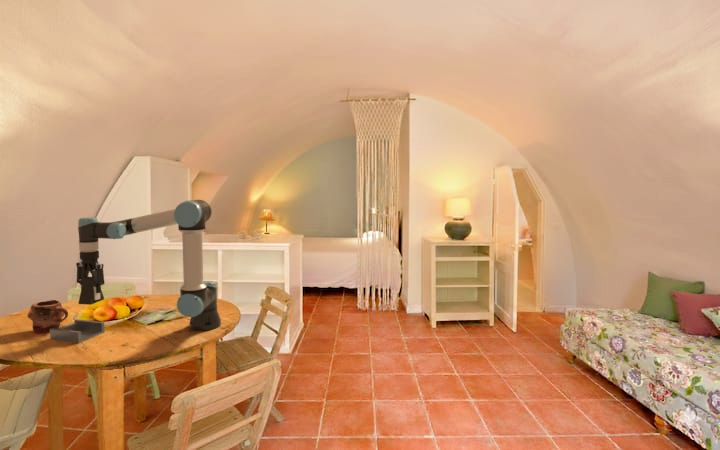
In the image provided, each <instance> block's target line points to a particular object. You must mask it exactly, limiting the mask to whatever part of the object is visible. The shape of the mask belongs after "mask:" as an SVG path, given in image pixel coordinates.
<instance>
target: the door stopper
mask: <svg viewBox="0 0 720 450" xmlns="http://www.w3.org/2000/svg"><path fill="white" fill-rule="evenodd" d="M97 284H98V283H97ZM94 286H95V284H94V281H93V277H92V276H88V277H83V279H82V288H81V287H80V292H79V293H80V295H79V299H78V305H88V306H89V305H90V306H91V305H94V304H96V303H98V302H101V301H104V300H105V297H104V295H103V292H102V290H101V292H100V299H98V300H94Z"/></svg>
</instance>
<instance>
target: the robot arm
mask: <svg viewBox="0 0 720 450" xmlns="http://www.w3.org/2000/svg"><path fill="white" fill-rule="evenodd" d="M211 217H212V207H211V205H210V204H209V203H208V202H207V201H205V200H203V199H195V200H193V199H192V200H185V201H182V202H180V203H179V204H178V205H177V206H176V207H175V208H174V209H170V210H169V209H168V210H165V211H161V212H160V211H159V212H155V213H152V214H146V215H141V216H136V217H132V218H128V219H127V218H125V219H123V220H117V221H111V222H109V221H108V222H101V221H98V218H97V217H93V216H92V217H91V216H90V217H81V218H79V219H78V220H77V221H78V226H77V230H78V231H77V232H78V239H79V240H78V248H79V249H78V251H79V260H81V261H79V262H76V264H75V265H76V283H77V284H79V285H80V289H81V288H82V279H83V277H89V273H90V274H91V277H93V281H94V284H95V286H94V300H98V299H100V292H101V291H102V286H103V285H105V275H104V265H105V264H103V263H99V260H98V259H99V258H100V251H99V239H107V240H109V239H110V240H112V239H113V240H117V239H118V240H119V239H120V240H121V239H123V238H124V237H125V236H129V235H134V234H138V233H142V232H147V231H151V230H156V229H161V228H165V227H166V228H167V227H169V226H170V227H171V226H175V225H178V226H177V227H178V231H179V232H180V233H181V234H182V237H181V238H182V274H183V276H182V277H183V284H182V285H181V286H180V287H179V288H180V289H179V294H180V295H179V297H178V298H177V301H176V308H177V310H178V312H179V313H180V314H181V315H182V316H184V317H187V318H190V320H189V326H188V327H189V329H191V330H193V331H201V332H203V331H209V330H213V329H217V328H219V327H220V326H221V324H222V318H221V316H220V314H219V312H218V311H219V310H218V292H217V291H218V290H217V289H218V286H217V283H216V282H215V281H213V280H204V260H203V258H204V256H203V232H205V231H206V222H208V221H209V220H210V218H211ZM97 283H98V284H97Z"/></svg>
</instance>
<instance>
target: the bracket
mask: <svg viewBox="0 0 720 450" xmlns="http://www.w3.org/2000/svg"><path fill="white" fill-rule="evenodd" d="M105 332H106V330H105V322H104V321H96V320H87V319H80V318H79V319H74V320H73V322H72V323H71V322H70V323H68V324H65V325H64V326H60V327H59V328H57V329H56V328H52V329H50V333H49V340H51V341H58V342H64V343H65V342H66V343H73V344H80V343H83V342H85V341H87V340H90V339H93V338H95V337H96V336H99V335H102V334H104V333H105Z"/></svg>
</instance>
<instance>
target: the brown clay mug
mask: <svg viewBox="0 0 720 450" xmlns="http://www.w3.org/2000/svg"><path fill="white" fill-rule="evenodd" d="M68 316H69V311H68V310H67V309H66V308H65V307H63V305H62V303H61V301H59V300H56V299H52V300H45V301H38V302H35V303H32V305H30V309H29V310H28V314H27V318H28V319H29V320H31V321H32V330H33V332H34V333H35V334H39V335H40V334H41V335H43V334H50V329H52V328H56V329H57V328H60V327H61V326H60V325H61V323H63V322H64V321H65V320H66V319H67V318H68Z"/></svg>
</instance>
